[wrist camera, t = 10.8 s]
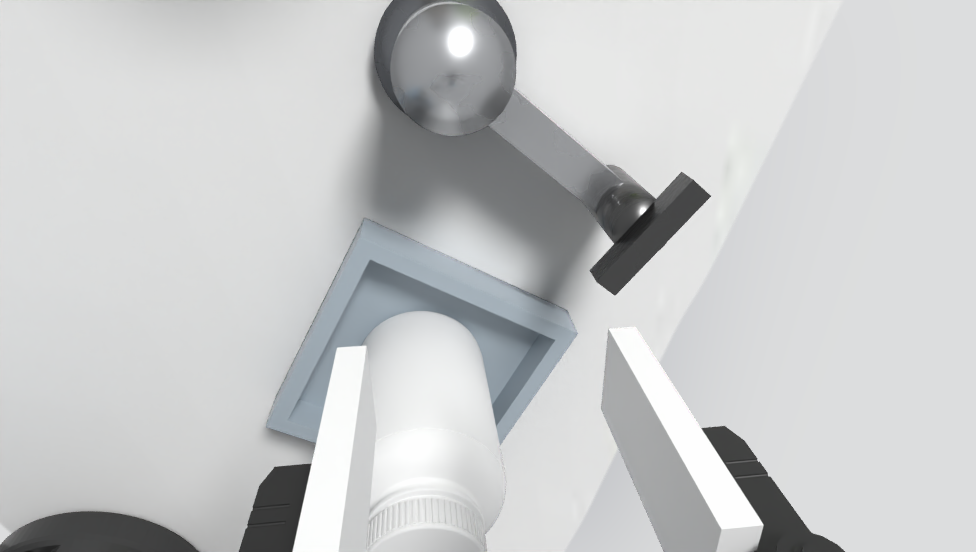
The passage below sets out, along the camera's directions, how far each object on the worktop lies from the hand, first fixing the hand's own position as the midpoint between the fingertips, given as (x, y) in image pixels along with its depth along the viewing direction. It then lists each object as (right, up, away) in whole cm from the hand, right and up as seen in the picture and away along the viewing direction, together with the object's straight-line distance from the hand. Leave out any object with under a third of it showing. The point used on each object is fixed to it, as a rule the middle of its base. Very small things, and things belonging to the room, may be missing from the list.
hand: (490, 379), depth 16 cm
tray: (-4, -2, +22) cm, 22 cm away
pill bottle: (-4, -3, +22) cm, 22 cm away
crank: (+2, +11, +14) cm, 18 cm away
